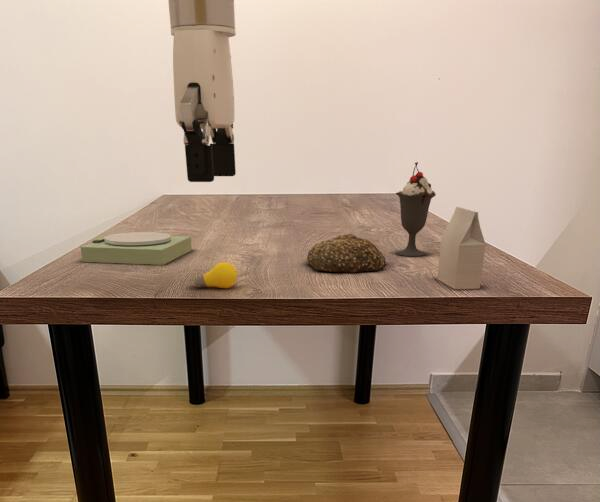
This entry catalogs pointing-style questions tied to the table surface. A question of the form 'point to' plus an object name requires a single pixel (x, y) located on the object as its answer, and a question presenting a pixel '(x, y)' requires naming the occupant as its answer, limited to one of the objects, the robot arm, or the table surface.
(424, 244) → the table surface
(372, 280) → the table surface
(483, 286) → the table surface
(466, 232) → the gable-top milk carton
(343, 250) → the bread roll
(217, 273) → the light bulb
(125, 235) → the scale
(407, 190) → the sundae
